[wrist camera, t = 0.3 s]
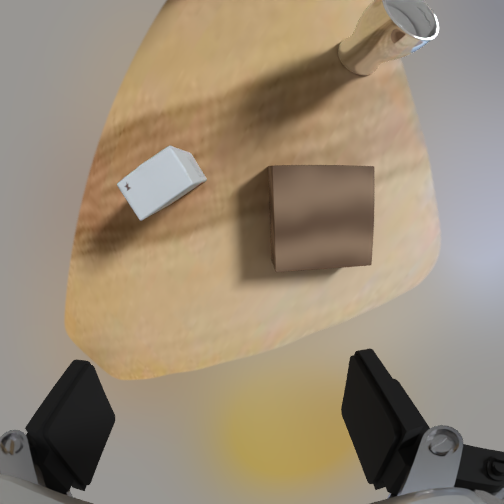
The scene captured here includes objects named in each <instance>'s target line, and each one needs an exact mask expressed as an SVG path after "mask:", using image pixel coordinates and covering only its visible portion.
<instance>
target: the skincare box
mask: <svg viewBox="0 0 504 504" xmlns="http://www.w3.org/2000/svg"><path fill="white" fill-rule="evenodd" d="M206 180H207V179H206V177H205V175H204V174H203V172H202V171H201V169H200V167H199V166H198V164H197V162H196V161H195V159H194V157H193V156H192V154H191V153H189V152H186V151H183V150H181V149H178V148H175V147H173V146H168V147H166V148H165V149H163V150H162V151H160V152H159V153H158V154H156V155H155V156H153V157H152V158H150V159H149V160H147V161H146V162H144V163H143V164H141V165H140V166H139V167H137V168H136V169H135V170H134V171H132V172H131V173H130V174H128V175H127V176H126V177H125V178H123V179H122V180H121V181H120V182H118V183H117V186H118V188H119V189H120V191H121V192H122V194H123V195H124V197H125V198H126V200H127V201H128V203H129V204H130V206H131V207H132V209H133V210H134V212H135V214H136V215H137V217H138V218H139V220H140V221H142V220H143V219H145V218H147V217H149V216H150V215H152V214H154V213H156V212H158V211H159V210H161V209H163V208H165V207H167V206H169V205H170V204H172V203H173V202H175V201H176V200H178V199H179V198H181V197H182V196H184V195H185V194H187V193H188V192H190V191H191V190H193V189H194V188H196V187H197V186H199V185H200V184H202V183H203V182H205V181H206Z"/></svg>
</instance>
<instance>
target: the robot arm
mask: <svg viewBox="0 0 504 504" xmlns="http://www.w3.org/2000/svg"><path fill="white" fill-rule="evenodd" d="M341 410H342V417H343V419H344V421H345V424H346V427H347V429H348V431H349V434H350V437H351V440H352V442H353V445H354V447H355V450H356V453H357V455H358V458H359V460H360V463H361V465H362V468H363V471H364V473H365V476H366V479H367V481H368V483H369V484H374V487H375V489H376V490H377V489H380V488H383V487H386V489H387V491H388V492H389V493H390V494H389V496H388V498H387V499H385V500H382V501H378V502H374V503H371V504H504V452H500V451H495V450H489V449H483V448H478V447H473V446H469V445H465V444H463V438H462V436H461V434H460V433H459V432H458V431H457V430H456V429H454V428H452V427H449V426H443V425H440V426H434V427H432V428H429V426H428V425H427V423H426V422H425V420H424V419H423V417H422V416H421V414H420V413H419V411H418V410H417V408H416V407H415V405H414V404H413V402H412V401H411V399H410V398H409V396H408V395H407V393H406V392H405V390H404V389H403V387H402V386H401V384H400V383H399V382H398V381H397V380H396V379H393V378H392V377H391V375H390V374H389V373H388V371H387V370H386V368H385V367H384V366H383V364H382V362H381V361H380V360H379V358H378V357H377V355H376V354H375V352H374V351H373V350H372V349H366V350H360V351H356V352H355V354H354V356H351V357H350V361H349V368H348V374H347V380H346V386H345V392H344V397H343V402H342V409H341ZM114 423H115V414H114V412H113V410H112V408H111V406H110V404H109V401H108V399H107V397H106V395H105V392H104V390H103V388H102V385H101V383H100V380H99V378H98V376H97V373H96V370H95V368H94V366H93V365H91V364H90V362H88V361H84V360H74V361H73V362H72V363H71V364H70V366H69V367H68V368H67V370H66V371H65V372H64V374H63V375H62V376H61V378H60V379H59V380H58V382H57V383H56V384H55V386H54V387H53V389H52V390H51V391H50V393H49V394H48V396H47V397H46V398H45V400H44V401H43V403H42V404H41V406H40V407H39V408H38V410H37V411H36V413H35V414H34V416H33V417H32V419H31V420H30V422H29V423H28V425H27V426H26V428H25V429H26V430H27V432H28V433H27V434H26V435H25V434H24V433H23V432H21V431H19V430H10V431H8V432H6V433H4V434H3V435H2V436H1V437H0V504H93V503H89V502H86V501H82V500H80V499H76V498H73V497H72V494H71V492H70V488H71V486H72V487H73V488H76V489H80V490H83V491H85V488H86V485H89V484H90V483H91V481H92V478H93V475H94V473H95V470H96V467H97V465H98V462H99V460H100V457H101V454H102V452H103V450H104V447H105V445H106V442H107V440H108V437H109V434H110V432H111V430H112V427H113V425H114Z"/></svg>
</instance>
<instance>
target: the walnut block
mask: <svg viewBox="0 0 504 504" xmlns="http://www.w3.org/2000/svg"><path fill="white" fill-rule="evenodd" d="M268 173H269V198H270V225H271V257H272V262H273V265H274V268H275V271H276V272H284V271H299V270H313V269H327V268H341V267H354V266H366V265H371V262H372V247H373V228H374V166H345V165H280V166H268Z"/></svg>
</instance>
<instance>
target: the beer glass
mask: <svg viewBox="0 0 504 504" xmlns="http://www.w3.org/2000/svg"><path fill="white" fill-rule="evenodd" d="M438 32H439V25H438V21H437V19H436V16H435V14H434V12H433V11H432V9H431V8H430V7H429V5H428V4H427V3H426V2H425V1H424V0H374V1H373V2H372V3H371V4H370V5H369V6H368V7H367V8H366V9H365V10H364V12H363V13H362V15H361V17H360V18H359V20H358V23H357V25H356V27H355V30H354V32H353V34H352V35H351V36H350V37H348V38H346V39H344V40H343V41H342V42H341V43H340V44H339V47H338V56H339V59H340V61H341V63H342V64H343V65H344V66H345V67H346V68H347V69H348V70H349V71H351V72H352V73H355V74H357V75H370V74H372V73H373V72H375V71H376V70H377V68H378V67H379V65H380V64H382V63H384V62H388V61H392V60H396V59H399V58H402V57H405V56H407V55H409V54H411V53H413V52H415V51H417V50H418V49H420V48H421V47H423V46H424V45H426V44H427V43H428V42H429V41H431V40H433V39H434V38H435V37H436V36H437V35H438Z"/></svg>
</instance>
